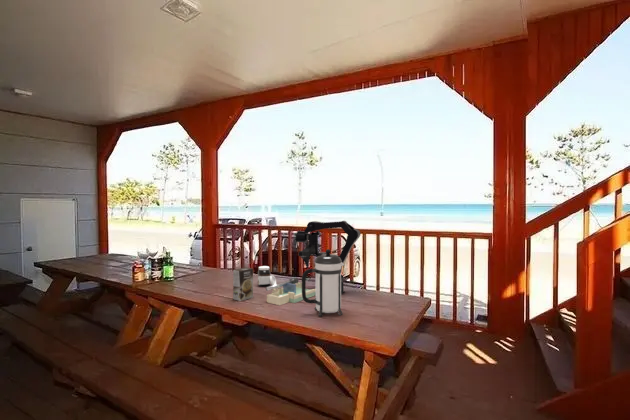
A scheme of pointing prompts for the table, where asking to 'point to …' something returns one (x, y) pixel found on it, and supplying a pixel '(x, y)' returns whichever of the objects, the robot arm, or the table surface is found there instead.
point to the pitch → (289, 295)
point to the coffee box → (242, 284)
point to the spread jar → (265, 277)
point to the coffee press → (326, 283)
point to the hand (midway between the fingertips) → (313, 268)
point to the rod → (286, 286)
